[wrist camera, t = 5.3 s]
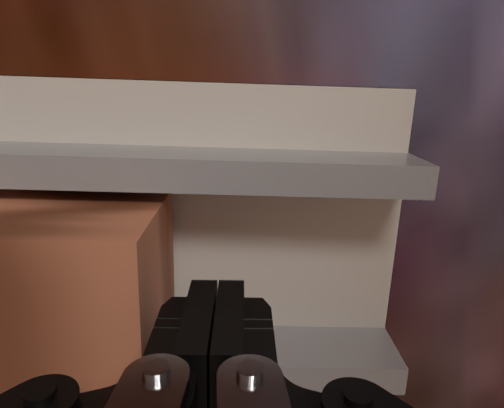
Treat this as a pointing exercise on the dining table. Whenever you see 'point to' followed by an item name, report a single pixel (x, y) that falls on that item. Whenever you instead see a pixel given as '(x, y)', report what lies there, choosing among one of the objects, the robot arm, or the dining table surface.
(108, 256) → the block
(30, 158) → the chute
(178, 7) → the dining table surface
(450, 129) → the dining table surface
